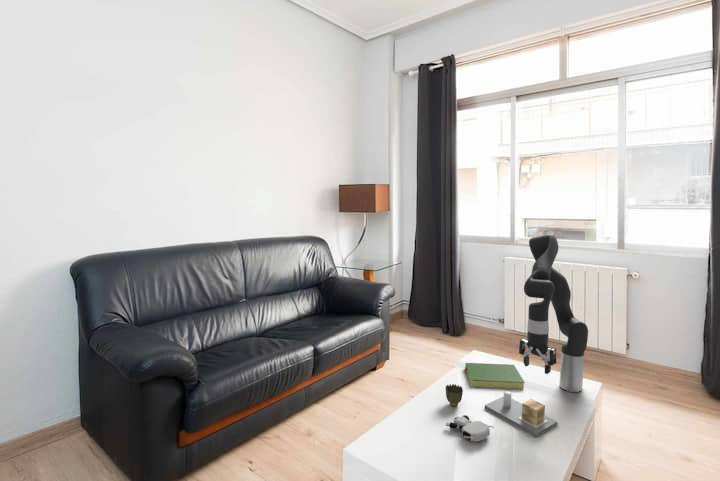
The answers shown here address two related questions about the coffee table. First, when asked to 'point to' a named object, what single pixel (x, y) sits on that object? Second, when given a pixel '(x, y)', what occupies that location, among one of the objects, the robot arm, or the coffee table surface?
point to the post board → (518, 415)
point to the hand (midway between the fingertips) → (536, 369)
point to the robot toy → (470, 428)
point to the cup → (454, 394)
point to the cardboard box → (533, 412)
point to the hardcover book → (494, 375)
